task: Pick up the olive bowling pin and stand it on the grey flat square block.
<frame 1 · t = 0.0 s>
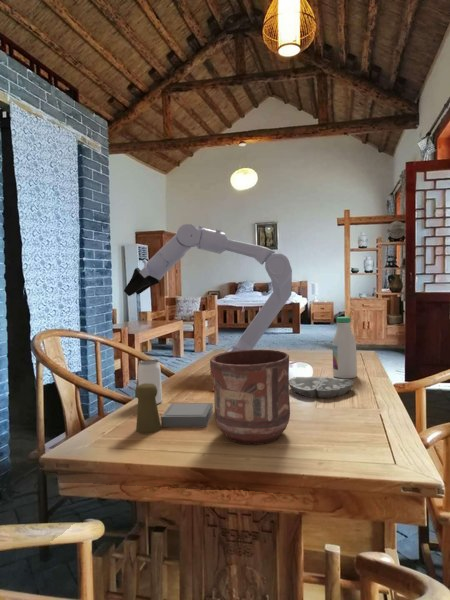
hand: (131, 292, 126), 32 cm above the table, tool tilted 50°, fingers open, 7 cm apart
pottery: (252, 435, 102), on the table
milk bottle: (345, 377, 152), on the table
brain slice: (320, 393, 135), on the table
grey flat square block: (188, 419, 115), on the table
can: (151, 403, 132), on the table
olive bowling pin: (148, 430, 109), on the table
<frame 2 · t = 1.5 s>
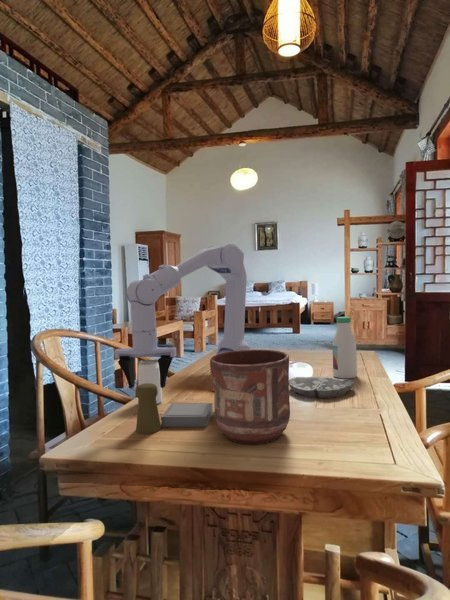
hand: (147, 387, 109), 10 cm above the table, tool pointing down, fingers open, 7 cm apart
nothing on the table moved.
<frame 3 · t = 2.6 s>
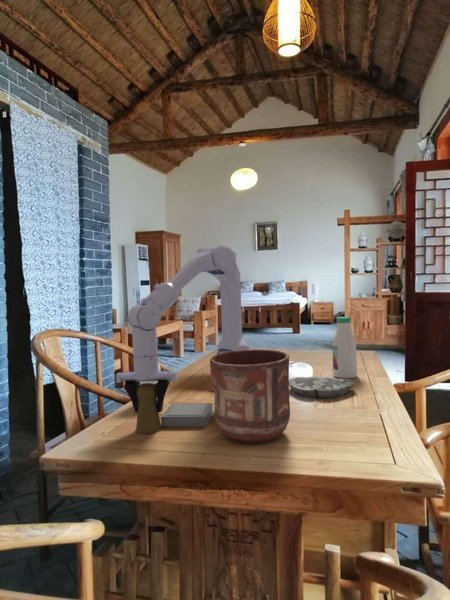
hand: (148, 411, 109), 4 cm above the table, tool pointing down, fingers closed on olive bowling pin, 5 cm apart
olive bowling pin: (148, 429, 109), on the table, touching gripper
everything else where it was.
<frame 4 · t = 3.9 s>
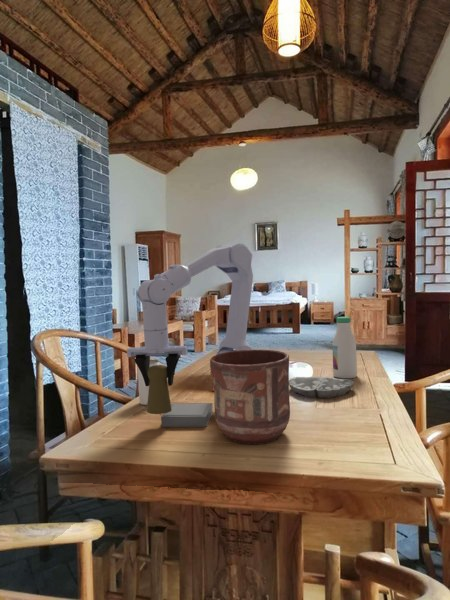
hand: (159, 384, 110), 10 cm above the table, tool pointing down, fingers closed on olive bowling pin, 5 cm apart
olive bowling pin: (159, 411, 110), point 4 cm above the table, touching gripper
everything else where it was.
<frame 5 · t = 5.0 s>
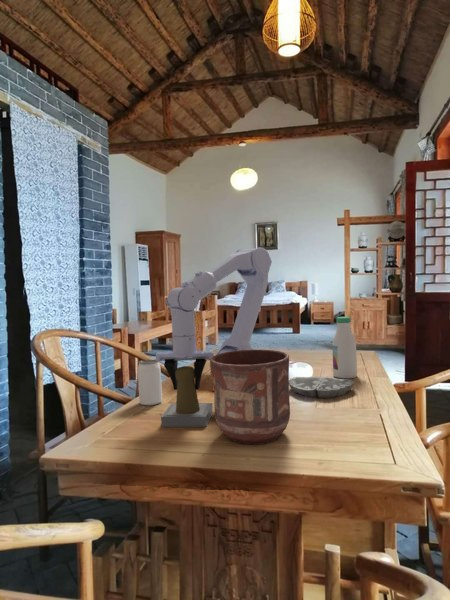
hand: (186, 388, 115), 8 cm above the table, tool pointing down, fingers closed on olive bowling pin, 5 cm apart
olive bowling pin: (187, 410, 114), point 2 cm above the table, touching gripper, grey flat square block
everything else where it was.
when the fingers open (8 cm above the table, at t = 5.3 s): olive bowling pin stays where it is, resting on grey flat square block.
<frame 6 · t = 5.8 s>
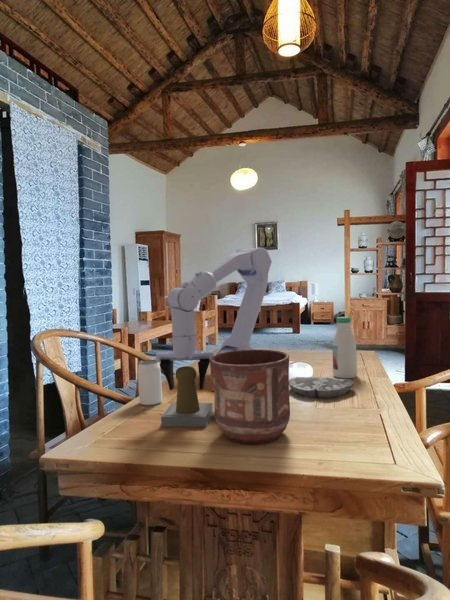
hand: (186, 388, 115), 8 cm above the table, tool pointing down, fingers open, 7 cm apart
olive bowling pin: (187, 411, 114), point 2 cm above the table, touching grey flat square block
everything else where it was.
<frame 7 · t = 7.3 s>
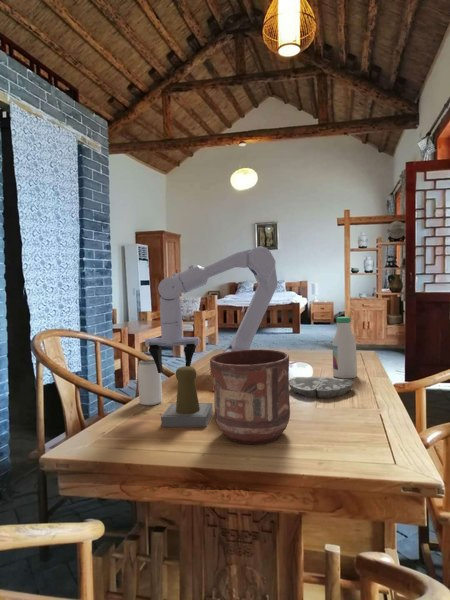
hand: (174, 372, 123), 10 cm above the table, tool pointing down, fingers open, 7 cm apart
nothing on the table moved.
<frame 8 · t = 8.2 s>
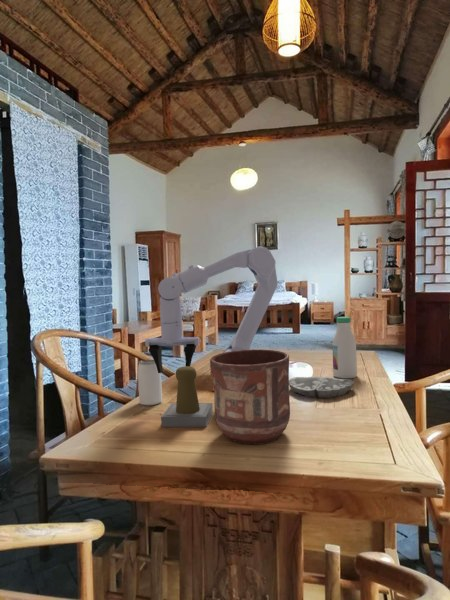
hand: (174, 372, 123), 10 cm above the table, tool pointing down, fingers open, 7 cm apart
nothing on the table moved.
at the end: olive bowling pin inside the target area on the grey flat square block (0.8 cm from its centre), point 2.4 cm above the grey flat square block's base; olive bowling pin tilted 0°; the gripper is holding nothing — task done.
